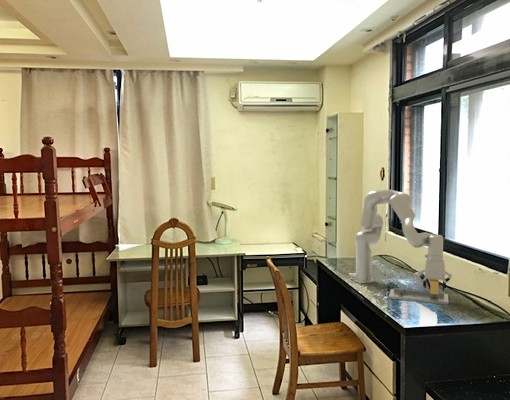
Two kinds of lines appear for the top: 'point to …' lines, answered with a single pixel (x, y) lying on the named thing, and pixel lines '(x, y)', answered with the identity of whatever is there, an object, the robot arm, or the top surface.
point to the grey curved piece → (420, 281)
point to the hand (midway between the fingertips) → (434, 288)
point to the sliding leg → (434, 287)
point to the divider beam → (415, 292)
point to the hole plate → (419, 298)
